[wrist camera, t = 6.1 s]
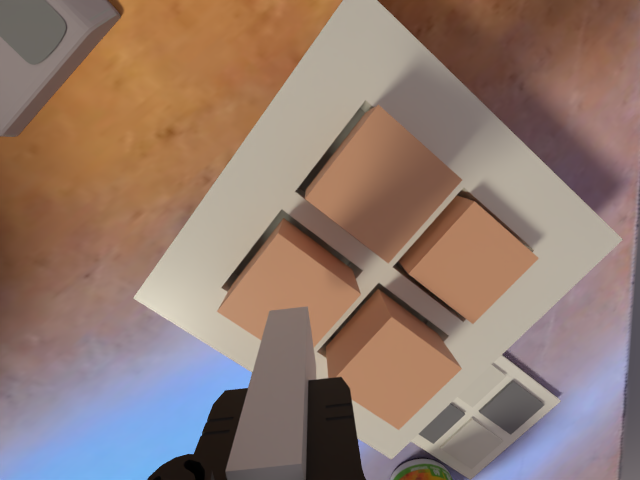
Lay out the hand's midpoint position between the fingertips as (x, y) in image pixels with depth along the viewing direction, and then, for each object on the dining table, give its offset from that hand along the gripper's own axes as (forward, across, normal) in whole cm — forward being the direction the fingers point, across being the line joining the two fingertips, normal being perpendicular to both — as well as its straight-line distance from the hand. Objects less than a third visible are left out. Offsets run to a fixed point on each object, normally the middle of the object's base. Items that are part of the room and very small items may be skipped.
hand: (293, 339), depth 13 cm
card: (+10, +12, -14) cm, 21 cm away
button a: (+9, +9, 0) cm, 13 cm away
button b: (+7, +4, -5) cm, 9 cm away
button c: (+7, +4, +5) cm, 9 cm away
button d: (+7, 0, 0) cm, 7 cm away
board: (+10, +4, 0) cm, 11 cm away
